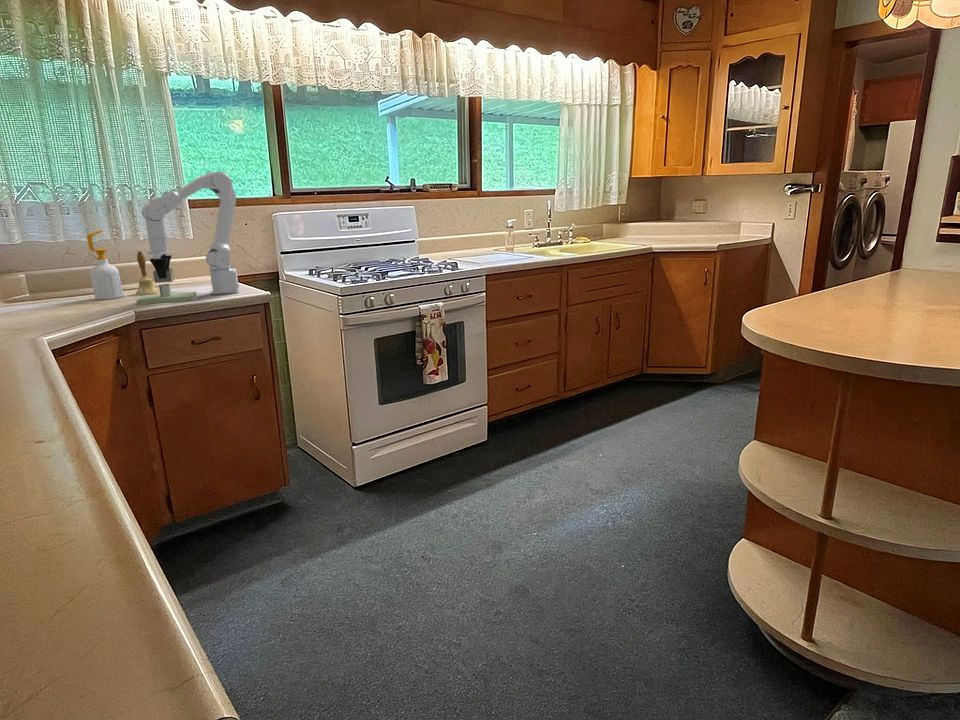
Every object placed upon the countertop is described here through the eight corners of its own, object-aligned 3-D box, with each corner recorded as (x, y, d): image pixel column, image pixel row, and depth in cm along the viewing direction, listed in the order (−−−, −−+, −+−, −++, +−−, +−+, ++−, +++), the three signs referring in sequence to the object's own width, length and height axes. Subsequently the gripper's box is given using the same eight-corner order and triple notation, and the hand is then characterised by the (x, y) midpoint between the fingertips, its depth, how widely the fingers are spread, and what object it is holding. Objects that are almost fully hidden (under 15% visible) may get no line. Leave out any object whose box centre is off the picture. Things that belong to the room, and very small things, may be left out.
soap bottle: (127, 297, 228) (114, 230, 221) (99, 301, 221) (85, 232, 214) (118, 294, 233) (106, 229, 227) (92, 298, 227) (78, 231, 220)
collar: (174, 279, 221) (172, 268, 220) (171, 281, 216) (169, 270, 215) (157, 280, 220) (155, 269, 219) (154, 282, 215) (152, 271, 214)
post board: (196, 295, 227) (194, 280, 226) (193, 300, 218) (191, 284, 216) (143, 299, 222) (140, 284, 220) (137, 304, 213) (134, 288, 211)
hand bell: (149, 295, 231) (141, 252, 226) (130, 295, 232) (122, 252, 228) (164, 291, 238) (157, 250, 234) (146, 291, 240) (138, 250, 236)
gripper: (148, 237, 219) (155, 275, 223) (140, 240, 206) (147, 280, 210) (170, 236, 221) (176, 273, 225) (163, 239, 208) (170, 279, 212)
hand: (164, 277), depth 218 cm, fingers closed on collar, 5 cm apart
